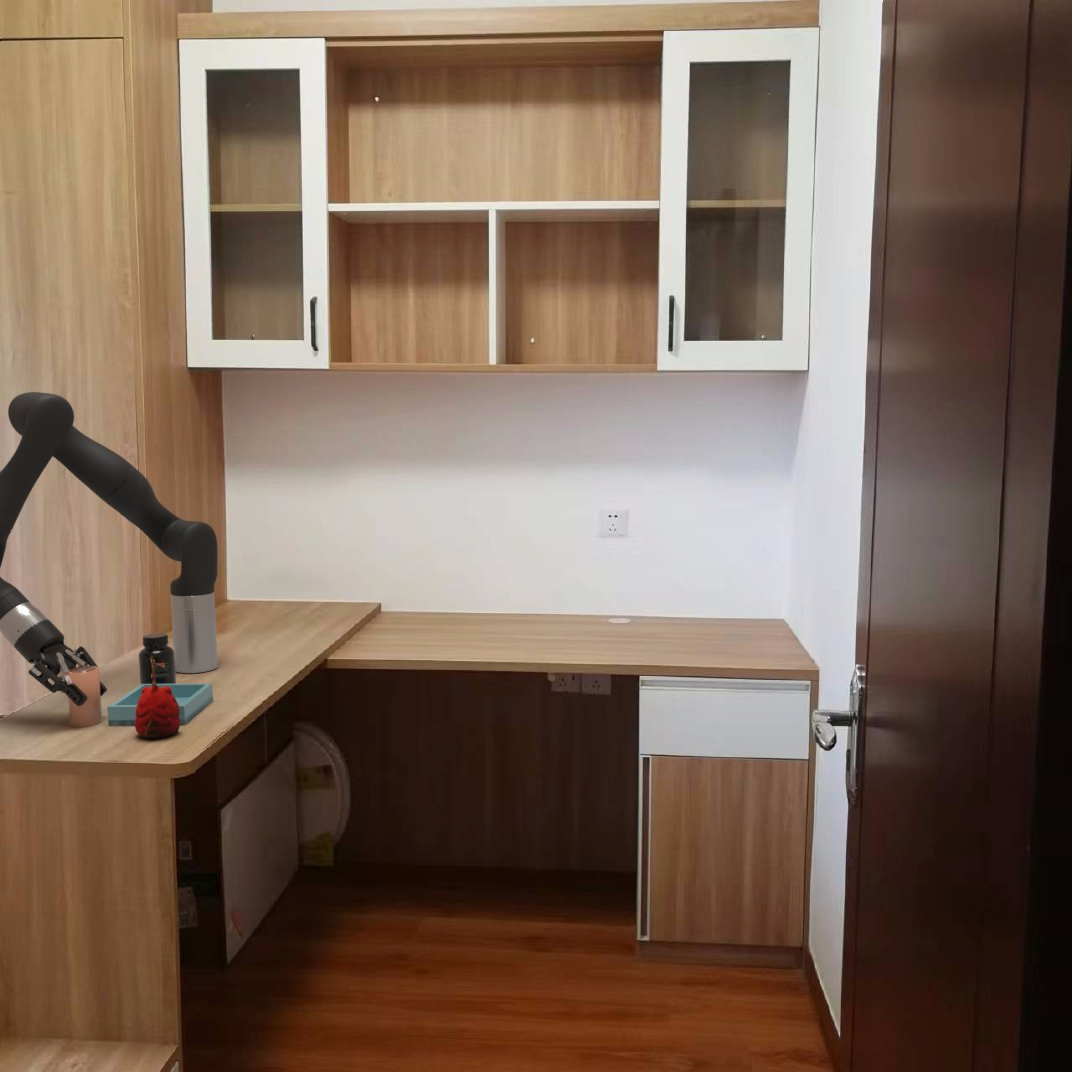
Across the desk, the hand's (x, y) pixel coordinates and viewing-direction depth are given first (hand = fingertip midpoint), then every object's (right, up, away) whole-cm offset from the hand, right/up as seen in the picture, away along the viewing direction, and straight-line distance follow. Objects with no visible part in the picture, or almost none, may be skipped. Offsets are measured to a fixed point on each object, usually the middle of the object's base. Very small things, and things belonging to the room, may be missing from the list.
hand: (93, 697), depth 186 cm
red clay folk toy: (+15, -6, -7) cm, 17 cm away
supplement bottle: (+4, -2, +21) cm, 21 cm away
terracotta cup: (-2, -5, +1) cm, 5 cm away
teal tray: (+10, -4, +7) cm, 13 cm away
